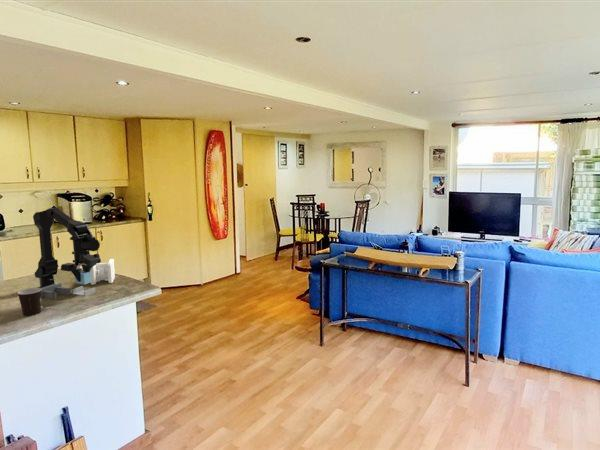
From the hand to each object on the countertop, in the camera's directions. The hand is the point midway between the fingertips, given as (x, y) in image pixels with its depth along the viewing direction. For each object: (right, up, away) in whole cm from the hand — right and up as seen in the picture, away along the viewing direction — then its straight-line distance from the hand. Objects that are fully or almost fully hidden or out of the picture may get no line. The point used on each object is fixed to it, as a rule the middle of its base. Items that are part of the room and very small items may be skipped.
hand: (83, 280), depth 205 cm
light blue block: (0, -1, 0) cm, 1 cm away
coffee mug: (-10, -12, -25) cm, 29 cm away
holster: (0, -7, +1) cm, 7 cm away
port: (-12, -8, -3) cm, 14 cm away
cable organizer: (0, -4, +21) cm, 22 cm away
